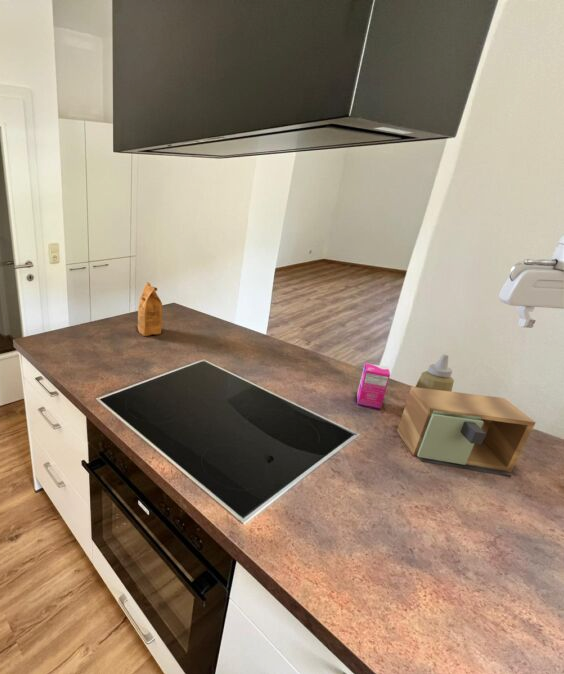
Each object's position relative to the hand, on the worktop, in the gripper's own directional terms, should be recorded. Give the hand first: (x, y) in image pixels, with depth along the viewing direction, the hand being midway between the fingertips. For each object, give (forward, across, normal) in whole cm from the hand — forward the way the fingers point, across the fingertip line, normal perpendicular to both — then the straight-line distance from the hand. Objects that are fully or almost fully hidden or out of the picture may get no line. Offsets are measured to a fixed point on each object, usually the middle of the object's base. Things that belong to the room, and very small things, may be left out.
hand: (554, 329), depth 73 cm
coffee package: (+31, -97, +56) cm, 116 cm away
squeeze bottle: (+31, -9, +14) cm, 35 cm away
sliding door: (+30, -14, -10) cm, 35 cm away
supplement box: (+31, -22, +16) cm, 41 cm away
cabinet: (+31, -10, -2) cm, 33 cm away
